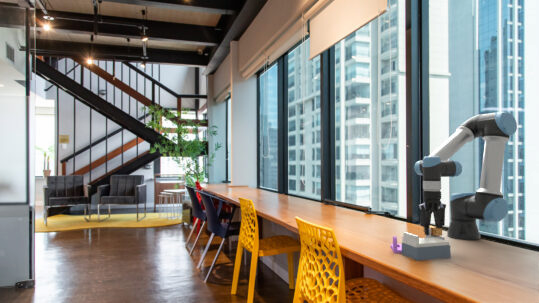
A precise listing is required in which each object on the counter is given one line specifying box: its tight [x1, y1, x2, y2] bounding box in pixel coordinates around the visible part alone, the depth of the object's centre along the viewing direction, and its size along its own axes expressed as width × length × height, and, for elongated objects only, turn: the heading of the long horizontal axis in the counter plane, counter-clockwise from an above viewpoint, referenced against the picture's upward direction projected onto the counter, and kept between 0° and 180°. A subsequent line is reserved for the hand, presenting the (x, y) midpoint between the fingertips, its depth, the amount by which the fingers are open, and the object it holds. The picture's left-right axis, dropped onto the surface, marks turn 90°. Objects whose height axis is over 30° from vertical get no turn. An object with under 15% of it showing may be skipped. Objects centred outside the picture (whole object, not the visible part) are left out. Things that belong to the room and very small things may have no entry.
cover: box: [401, 231, 450, 248], centre depth 148 cm, size 16×9×4 cm, turn 105°
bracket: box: [390, 235, 402, 254], centre depth 159 cm, size 13×6×7 cm, turn 168°
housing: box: [401, 242, 452, 262], centre depth 152 cm, size 22×17×5 cm
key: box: [422, 225, 446, 240], centre depth 158 cm, size 3×11×9 cm, turn 14°
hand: (432, 241), depth 159 cm, fingers open, 4 cm apart
